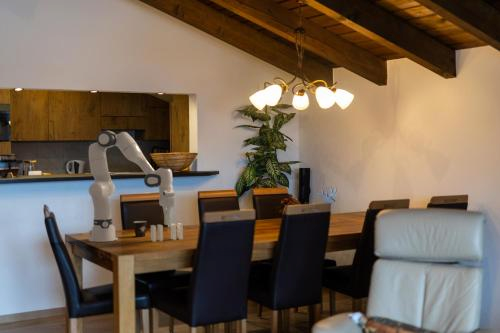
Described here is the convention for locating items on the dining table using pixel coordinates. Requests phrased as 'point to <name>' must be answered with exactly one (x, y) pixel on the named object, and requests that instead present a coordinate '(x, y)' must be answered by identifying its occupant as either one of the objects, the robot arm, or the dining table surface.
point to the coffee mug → (140, 228)
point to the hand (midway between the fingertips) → (166, 213)
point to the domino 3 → (166, 217)
